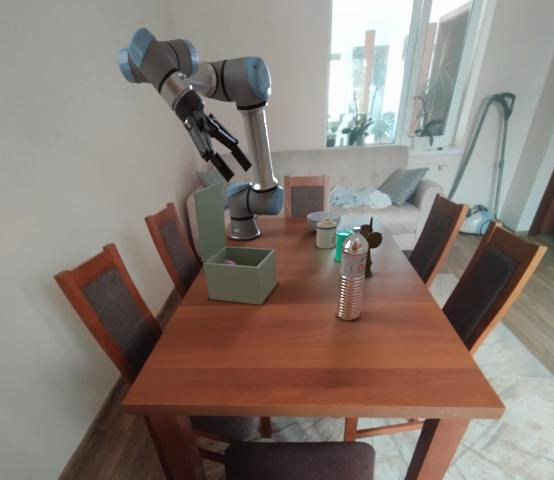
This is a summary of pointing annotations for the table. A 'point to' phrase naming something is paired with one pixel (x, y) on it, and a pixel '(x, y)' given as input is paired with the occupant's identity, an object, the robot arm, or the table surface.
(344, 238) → the candle
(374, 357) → the table surface
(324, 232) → the teacup with lid
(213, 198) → the green box lid
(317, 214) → the cereal bowl
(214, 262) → the chest
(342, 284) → the water bottle
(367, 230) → the kendama
